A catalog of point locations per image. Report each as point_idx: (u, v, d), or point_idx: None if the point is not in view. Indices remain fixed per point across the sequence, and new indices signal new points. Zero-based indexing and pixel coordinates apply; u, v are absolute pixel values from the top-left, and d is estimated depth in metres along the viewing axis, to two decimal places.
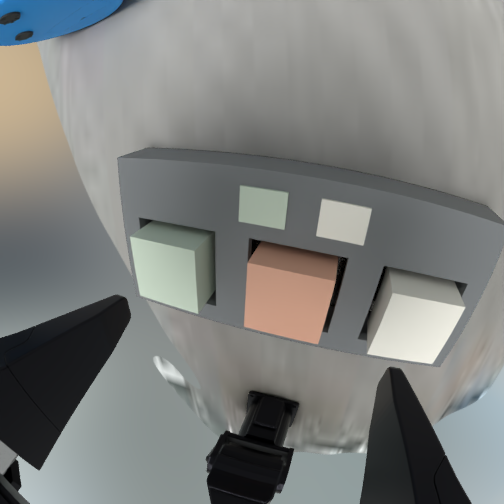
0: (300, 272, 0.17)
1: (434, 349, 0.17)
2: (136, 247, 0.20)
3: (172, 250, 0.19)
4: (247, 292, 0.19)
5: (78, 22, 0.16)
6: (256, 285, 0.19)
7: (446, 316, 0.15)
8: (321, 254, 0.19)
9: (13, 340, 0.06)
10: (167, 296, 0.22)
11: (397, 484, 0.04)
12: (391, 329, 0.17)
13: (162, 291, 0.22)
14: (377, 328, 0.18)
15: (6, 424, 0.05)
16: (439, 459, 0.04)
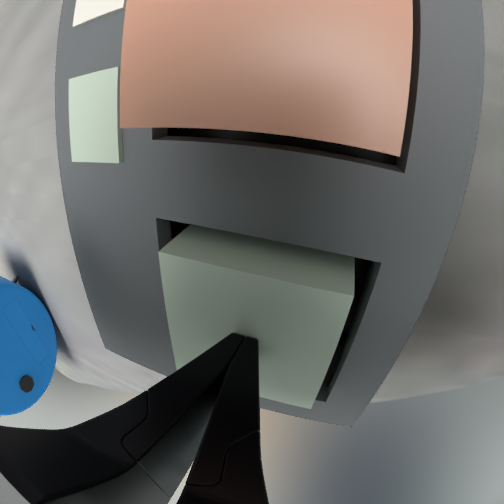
0: None
1: None
2: None
3: (174, 302, 0.09)
4: (215, 122, 0.05)
5: (38, 334, 0.22)
6: (181, 93, 0.05)
7: None
8: None
9: (125, 417, 0.05)
10: (301, 356, 0.08)
11: None
12: None
13: (290, 363, 0.09)
14: None
15: None
16: (246, 432, 0.05)
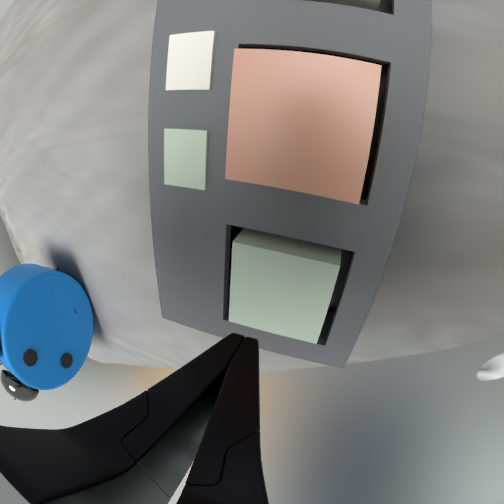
0: (231, 101, 0.10)
1: None
2: (241, 318, 0.17)
3: (237, 272, 0.16)
4: (279, 185, 0.11)
5: (79, 316, 0.28)
6: (262, 168, 0.11)
7: None
8: None
9: (125, 417, 0.05)
10: (311, 303, 0.15)
11: None
12: None
13: (305, 308, 0.15)
14: None
15: None
16: (246, 432, 0.05)
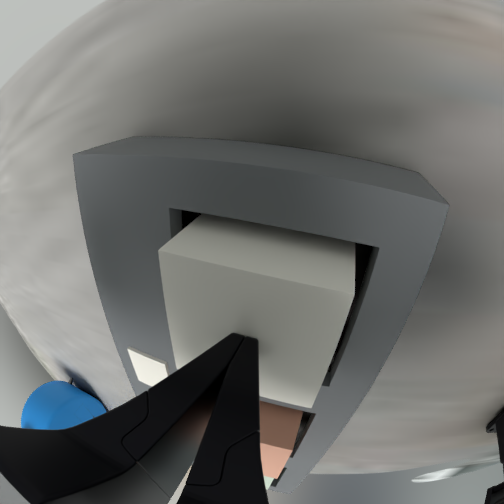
0: None
1: (293, 300, 0.07)
2: None
3: None
4: None
5: None
6: None
7: (189, 289, 0.08)
8: None
9: (125, 417, 0.05)
10: None
11: None
12: None
13: None
14: None
15: None
16: (246, 432, 0.05)
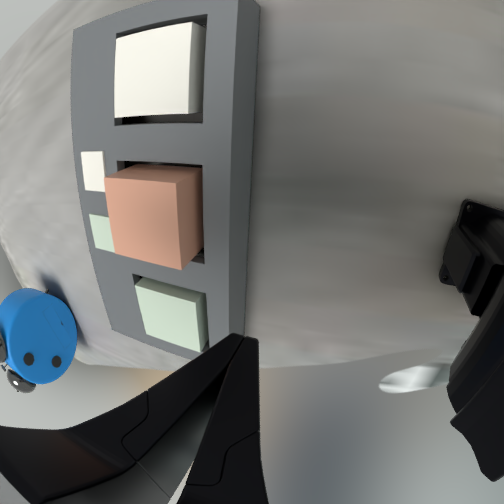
0: (108, 209, 0.17)
1: (168, 34, 0.12)
2: (152, 332, 0.24)
3: (142, 303, 0.22)
4: (140, 258, 0.18)
5: (65, 327, 0.35)
6: (130, 249, 0.18)
7: (126, 50, 0.13)
8: None
9: (125, 417, 0.05)
10: (187, 325, 0.22)
11: None
12: (148, 100, 0.14)
13: (184, 328, 0.22)
14: (154, 114, 0.15)
15: None
16: (246, 432, 0.05)
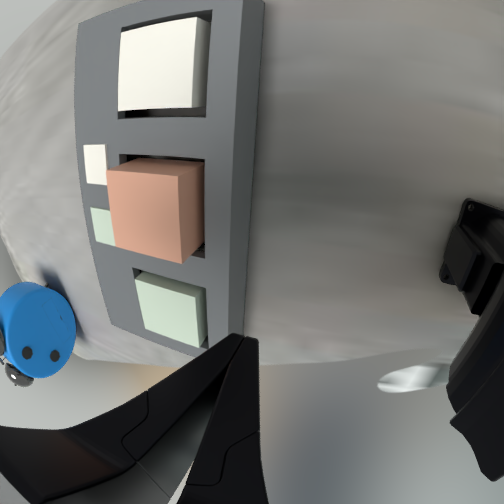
0: (110, 202, 0.17)
1: (172, 29, 0.12)
2: (151, 327, 0.24)
3: (141, 297, 0.22)
4: (140, 251, 0.18)
5: (64, 322, 0.35)
6: (131, 242, 0.18)
7: (131, 44, 0.13)
8: None
9: (125, 417, 0.05)
10: (186, 320, 0.22)
11: None
12: (152, 93, 0.14)
13: (183, 323, 0.22)
14: None
15: None
16: (246, 432, 0.05)
